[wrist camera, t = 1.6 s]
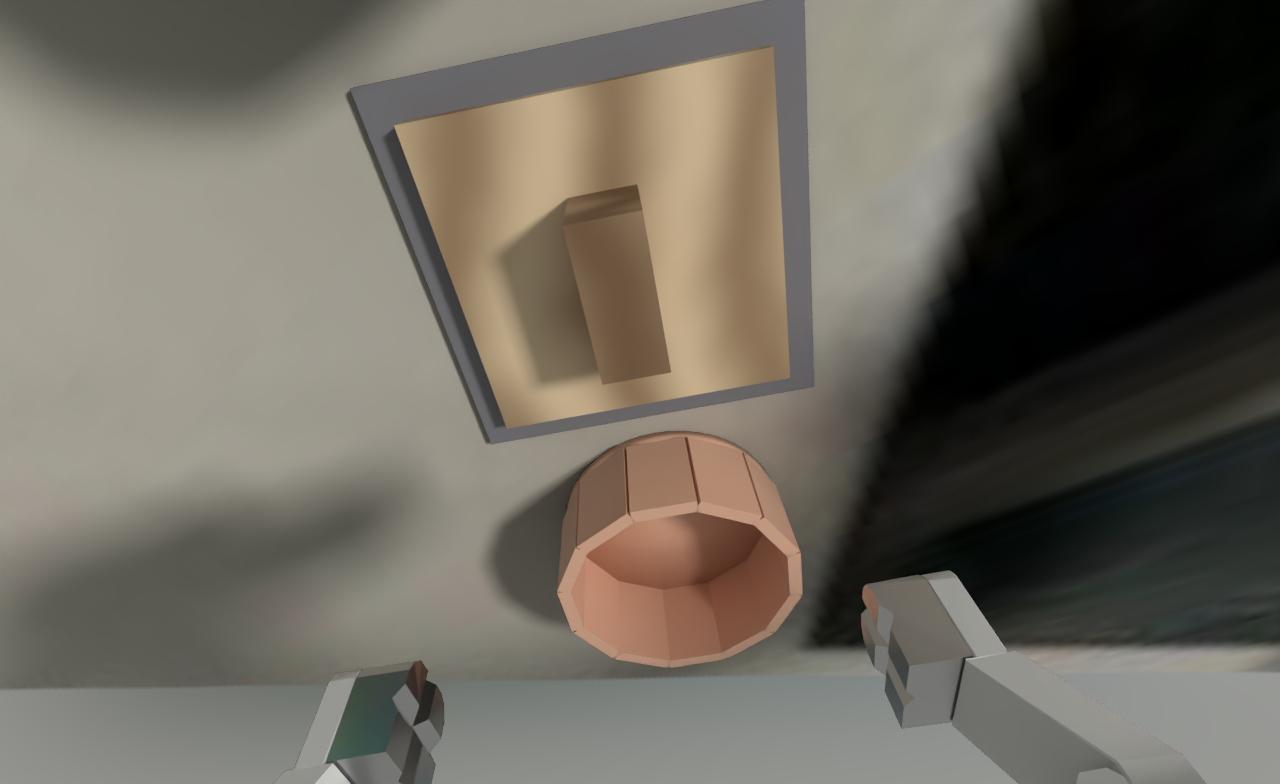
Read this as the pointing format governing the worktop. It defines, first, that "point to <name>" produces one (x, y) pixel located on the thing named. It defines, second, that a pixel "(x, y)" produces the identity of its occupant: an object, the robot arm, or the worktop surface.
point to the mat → (585, 63)
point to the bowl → (676, 551)
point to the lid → (615, 235)
